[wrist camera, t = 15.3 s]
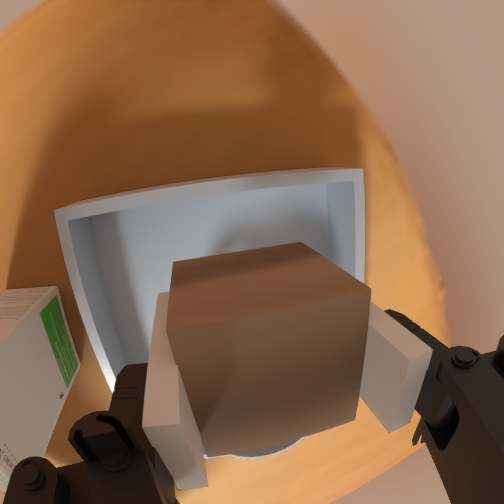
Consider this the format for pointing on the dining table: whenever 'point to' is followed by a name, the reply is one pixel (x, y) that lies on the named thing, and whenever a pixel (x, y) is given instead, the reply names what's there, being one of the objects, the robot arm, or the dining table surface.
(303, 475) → the dining table surface
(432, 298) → the dining table surface
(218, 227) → the tote
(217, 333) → the walnut cube
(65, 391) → the skincare box
